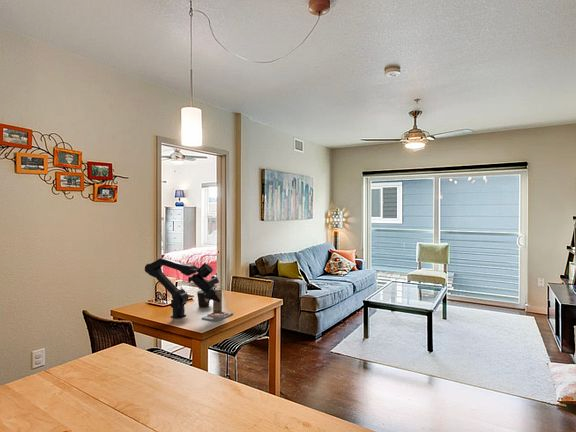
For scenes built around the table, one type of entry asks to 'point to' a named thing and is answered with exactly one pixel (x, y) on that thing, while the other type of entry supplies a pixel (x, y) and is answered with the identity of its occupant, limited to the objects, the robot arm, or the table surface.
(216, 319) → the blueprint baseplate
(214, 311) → the walnut post
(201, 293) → the coffee mug
